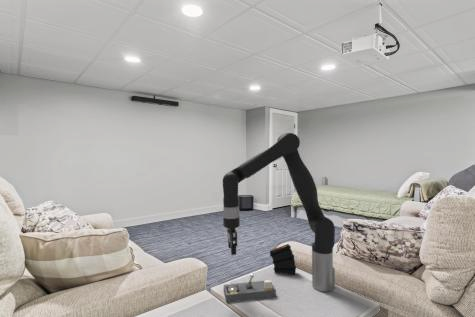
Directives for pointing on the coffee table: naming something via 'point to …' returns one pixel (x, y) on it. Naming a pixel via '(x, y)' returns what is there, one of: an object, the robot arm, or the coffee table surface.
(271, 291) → the panel
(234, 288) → the button
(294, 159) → the robot arm
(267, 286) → the slider
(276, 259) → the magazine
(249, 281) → the toggle
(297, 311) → the coffee table surface
